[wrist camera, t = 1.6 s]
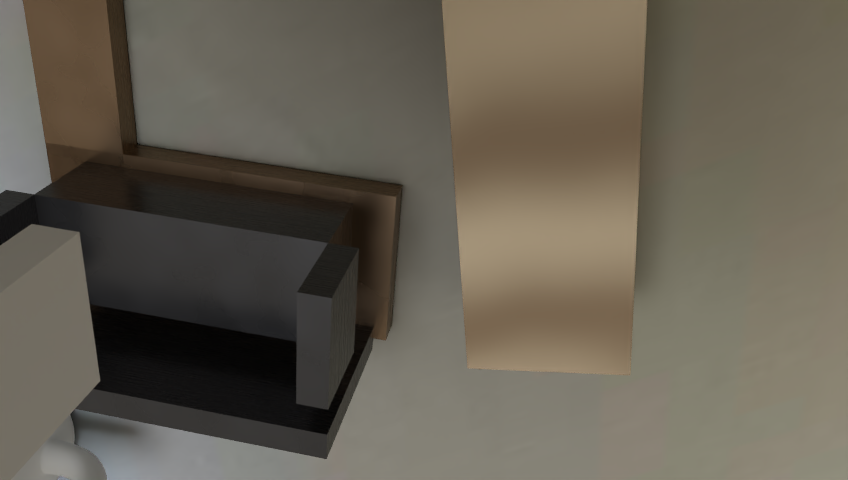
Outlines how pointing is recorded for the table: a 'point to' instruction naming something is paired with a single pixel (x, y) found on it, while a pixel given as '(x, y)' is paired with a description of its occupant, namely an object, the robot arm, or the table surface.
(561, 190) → the rail
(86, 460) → the mug
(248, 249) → the brackets
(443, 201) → the table surface
